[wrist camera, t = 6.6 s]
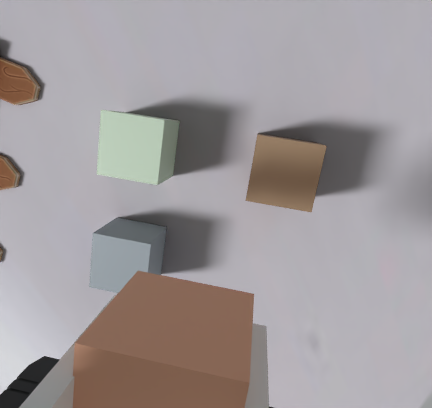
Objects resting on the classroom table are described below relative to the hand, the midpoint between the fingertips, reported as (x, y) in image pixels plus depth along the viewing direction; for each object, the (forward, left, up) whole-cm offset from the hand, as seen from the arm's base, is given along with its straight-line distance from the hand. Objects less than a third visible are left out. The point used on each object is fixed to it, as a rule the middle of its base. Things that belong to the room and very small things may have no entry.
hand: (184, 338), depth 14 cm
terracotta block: (0, 0, 0) cm, 0 cm away
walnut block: (-6, +4, -18) cm, 19 cm away
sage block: (-6, -8, -18) cm, 20 cm away
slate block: (+4, -8, -18) cm, 20 cm away
